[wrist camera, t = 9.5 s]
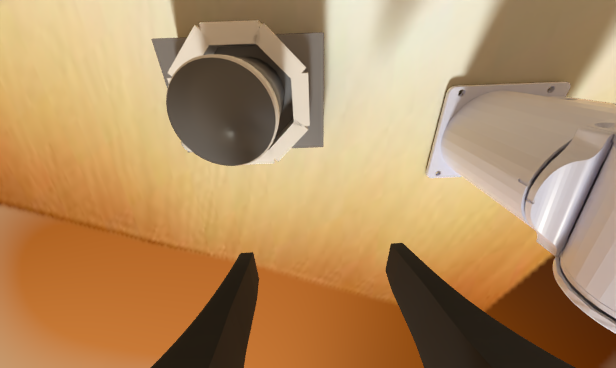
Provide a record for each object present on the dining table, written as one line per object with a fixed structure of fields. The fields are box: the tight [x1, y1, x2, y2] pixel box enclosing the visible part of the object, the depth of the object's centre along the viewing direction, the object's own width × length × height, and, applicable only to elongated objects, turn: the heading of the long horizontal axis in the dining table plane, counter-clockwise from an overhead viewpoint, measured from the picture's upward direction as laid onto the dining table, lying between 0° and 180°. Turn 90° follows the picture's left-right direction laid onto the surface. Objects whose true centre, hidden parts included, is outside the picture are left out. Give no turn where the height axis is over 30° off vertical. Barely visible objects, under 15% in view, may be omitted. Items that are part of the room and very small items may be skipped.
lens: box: [166, 54, 285, 166], centre depth 12 cm, size 5×5×6 cm
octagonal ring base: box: [152, 20, 324, 165], centre depth 15 cm, size 10×8×4 cm
